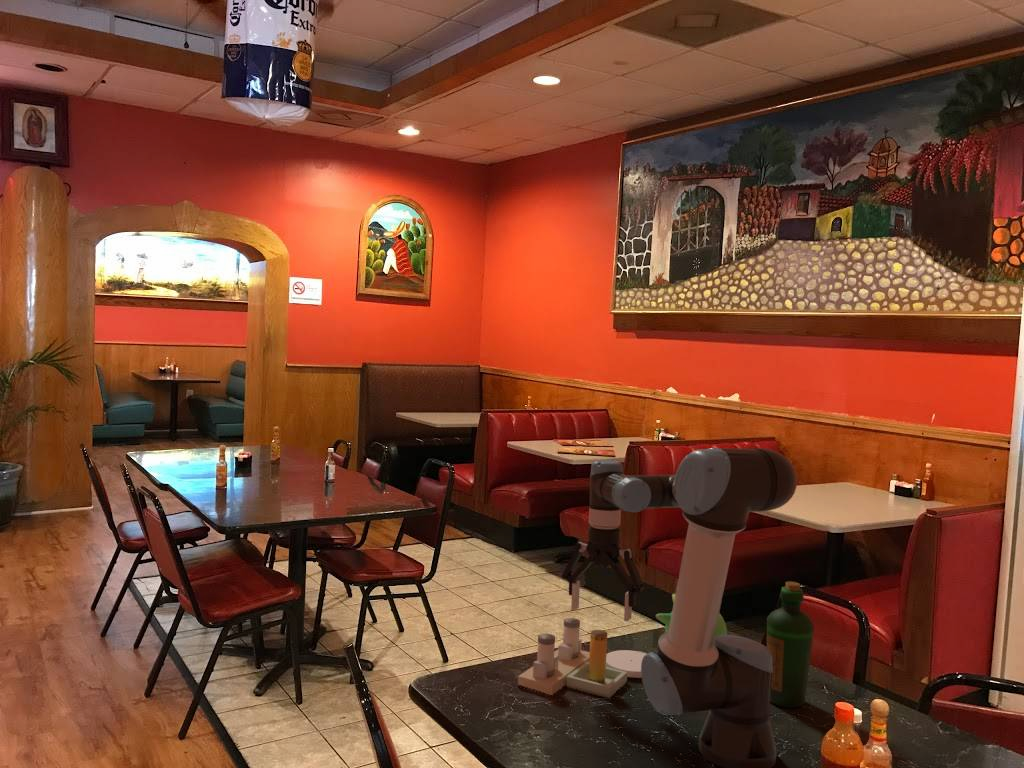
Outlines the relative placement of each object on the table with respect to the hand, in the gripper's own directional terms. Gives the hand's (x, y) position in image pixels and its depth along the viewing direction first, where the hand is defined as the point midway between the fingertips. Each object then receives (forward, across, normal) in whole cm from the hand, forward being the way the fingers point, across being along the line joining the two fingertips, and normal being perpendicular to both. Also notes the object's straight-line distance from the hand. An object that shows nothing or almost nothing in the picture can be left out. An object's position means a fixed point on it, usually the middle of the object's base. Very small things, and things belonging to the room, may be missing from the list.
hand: (600, 614), depth 201 cm
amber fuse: (+17, +1, -1) cm, 17 cm away
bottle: (+18, -40, -18) cm, 47 cm away
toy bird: (+17, -13, -32) cm, 39 cm away
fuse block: (+17, +11, 0) cm, 20 cm away
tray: (+17, +1, 0) cm, 17 cm away
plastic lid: (+18, -3, -14) cm, 23 cm away
